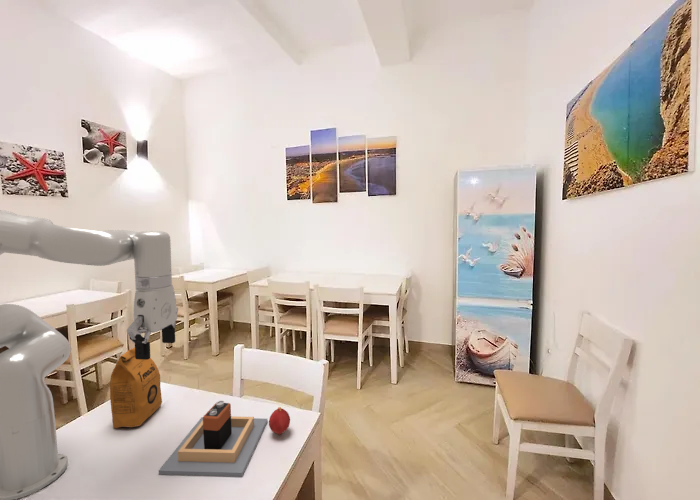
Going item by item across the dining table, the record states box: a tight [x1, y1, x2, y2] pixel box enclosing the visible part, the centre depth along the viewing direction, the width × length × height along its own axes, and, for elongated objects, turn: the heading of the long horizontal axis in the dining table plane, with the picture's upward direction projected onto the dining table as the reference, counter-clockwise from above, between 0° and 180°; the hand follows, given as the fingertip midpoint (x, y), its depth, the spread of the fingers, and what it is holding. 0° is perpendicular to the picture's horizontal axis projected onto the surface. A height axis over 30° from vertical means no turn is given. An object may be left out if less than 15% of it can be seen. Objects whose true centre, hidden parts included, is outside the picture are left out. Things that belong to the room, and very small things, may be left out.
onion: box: [268, 406, 291, 436], centre depth 87 cm, size 6×6×8 cm
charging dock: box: [158, 415, 269, 478], centre depth 83 cm, size 20×20×4 cm
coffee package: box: [109, 347, 163, 429], centre depth 94 cm, size 10×12×22 cm
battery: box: [202, 400, 232, 450], centre depth 82 cm, size 4×7×10 cm, turn 173°
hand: (156, 350), depth 77 cm, fingers open, 9 cm apart
